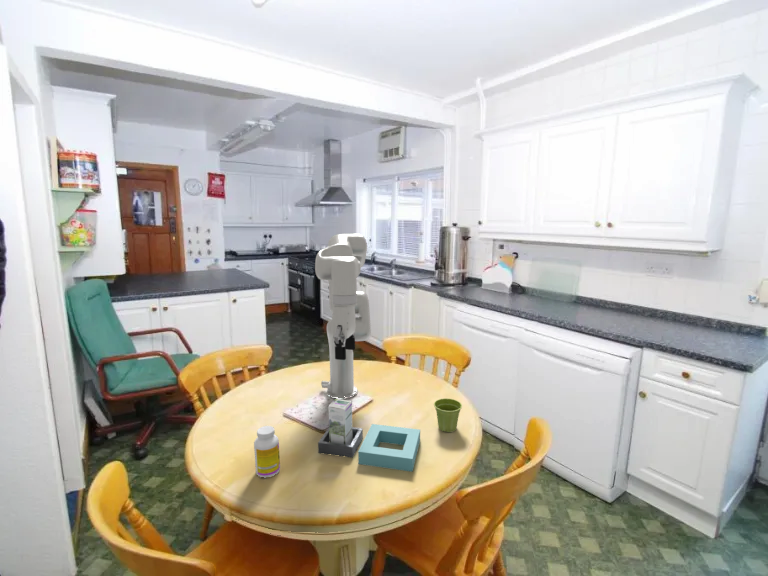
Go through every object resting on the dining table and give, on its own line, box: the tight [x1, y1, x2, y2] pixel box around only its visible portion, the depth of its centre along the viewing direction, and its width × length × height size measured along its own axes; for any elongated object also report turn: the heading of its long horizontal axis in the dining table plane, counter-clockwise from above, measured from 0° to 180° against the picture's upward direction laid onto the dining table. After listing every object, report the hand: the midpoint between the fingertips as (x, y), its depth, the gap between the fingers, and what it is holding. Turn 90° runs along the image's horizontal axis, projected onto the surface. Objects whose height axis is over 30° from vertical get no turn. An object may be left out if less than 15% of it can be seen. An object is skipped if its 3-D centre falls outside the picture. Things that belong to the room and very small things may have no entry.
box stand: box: [317, 426, 364, 459], centre depth 124 cm, size 11×11×4 cm
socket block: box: [357, 423, 421, 473], centre depth 120 cm, size 16×16×4 cm
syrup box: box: [328, 399, 353, 445], centre depth 123 cm, size 6×6×14 cm
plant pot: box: [433, 398, 463, 433], centre depth 134 cm, size 9×9×9 cm
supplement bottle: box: [253, 425, 281, 479], centre depth 110 cm, size 7×7×13 cm
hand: (345, 354), depth 121 cm, fingers open, 9 cm apart
